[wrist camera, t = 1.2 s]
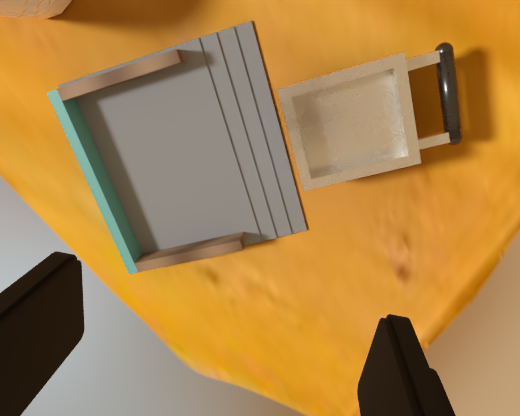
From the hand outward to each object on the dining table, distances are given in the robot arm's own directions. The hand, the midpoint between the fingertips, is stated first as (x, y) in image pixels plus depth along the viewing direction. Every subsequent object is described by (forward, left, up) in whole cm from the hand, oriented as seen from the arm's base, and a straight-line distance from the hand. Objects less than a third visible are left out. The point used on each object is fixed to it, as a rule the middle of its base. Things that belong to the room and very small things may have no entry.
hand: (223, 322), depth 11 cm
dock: (+8, -1, -24) cm, 25 cm away
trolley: (-8, -1, -24) cm, 25 cm away
